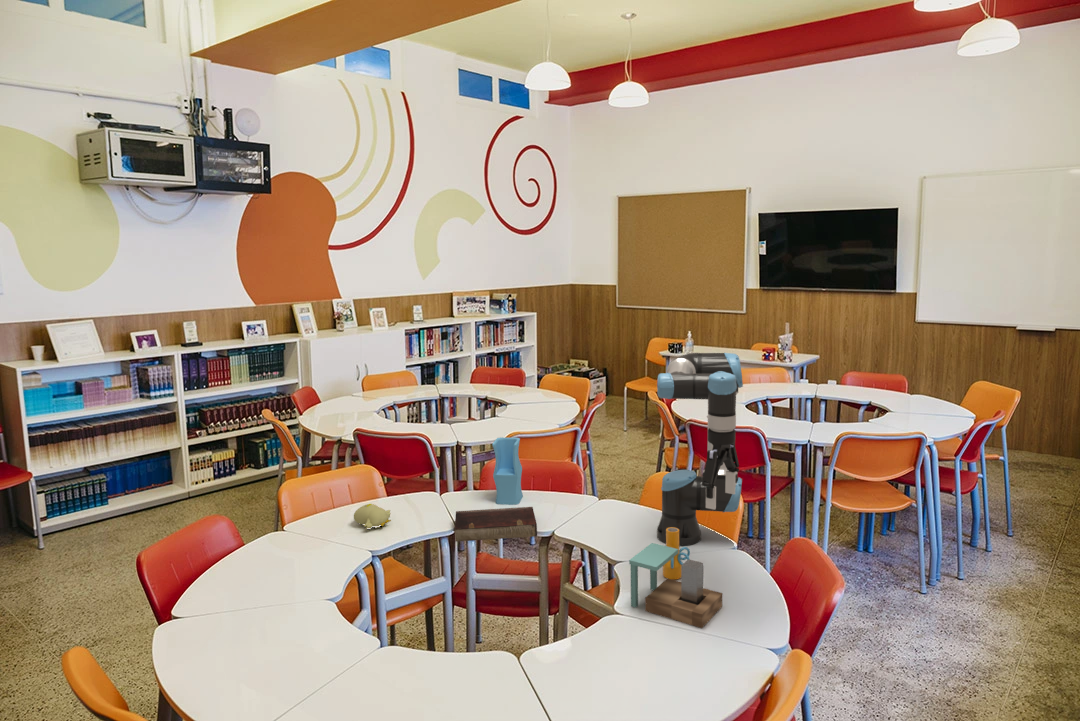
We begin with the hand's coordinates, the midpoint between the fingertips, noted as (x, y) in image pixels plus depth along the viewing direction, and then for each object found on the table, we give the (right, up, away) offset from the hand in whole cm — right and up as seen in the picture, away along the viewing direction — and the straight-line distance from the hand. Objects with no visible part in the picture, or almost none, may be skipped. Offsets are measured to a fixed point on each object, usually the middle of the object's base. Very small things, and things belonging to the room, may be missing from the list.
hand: (720, 500), depth 206 cm
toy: (-115, -22, +66) cm, 135 cm away
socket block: (-11, -30, -2) cm, 32 cm away
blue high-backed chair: (-64, -17, +89) cm, 111 cm away
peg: (-9, -30, -3) cm, 32 cm away
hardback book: (-68, -22, +60) cm, 93 cm away
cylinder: (-10, -27, +19) cm, 34 cm away
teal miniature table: (-19, -29, +4) cm, 35 cm away
